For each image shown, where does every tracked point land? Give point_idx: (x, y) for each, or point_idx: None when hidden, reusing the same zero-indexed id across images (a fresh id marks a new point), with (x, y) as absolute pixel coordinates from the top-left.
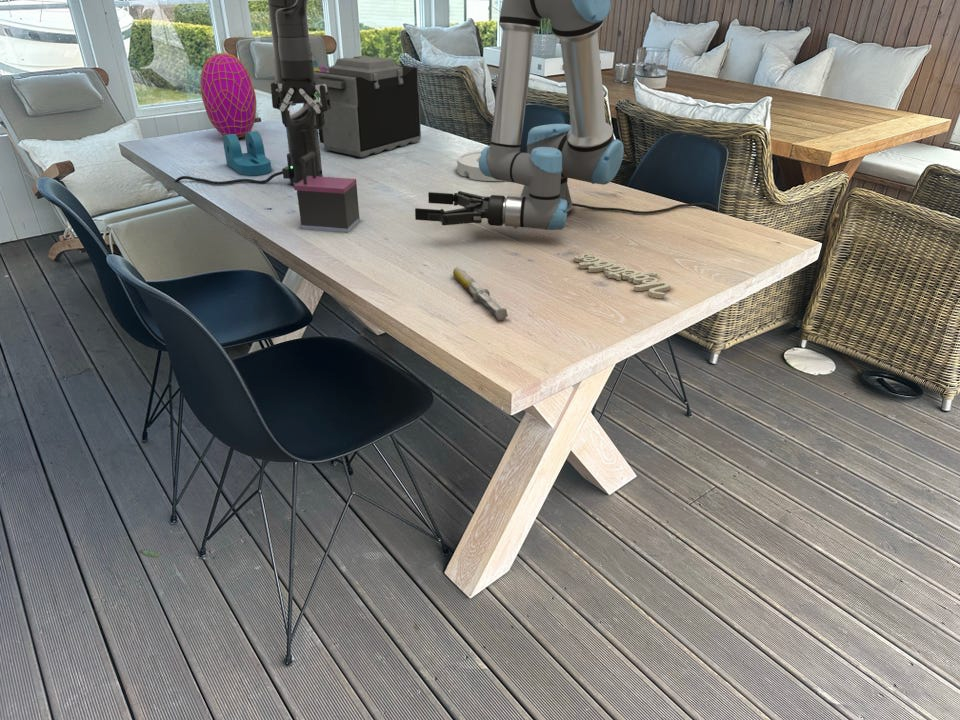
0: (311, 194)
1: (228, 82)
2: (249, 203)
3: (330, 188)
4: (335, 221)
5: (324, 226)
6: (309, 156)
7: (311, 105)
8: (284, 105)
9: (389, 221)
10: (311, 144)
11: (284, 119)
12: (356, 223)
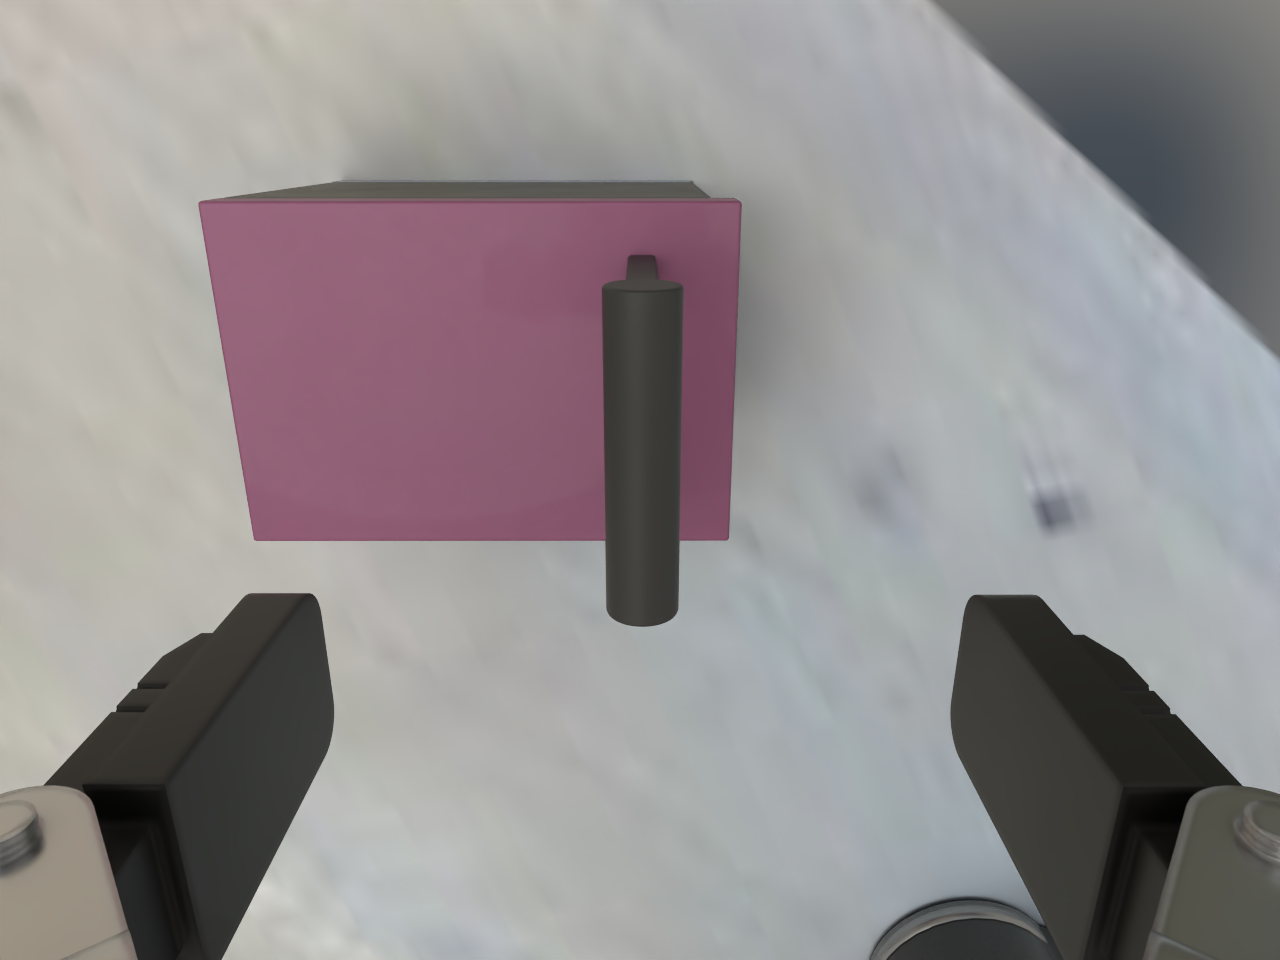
0: (563, 196)
1: None
2: (1224, 587)
3: (342, 200)
4: (407, 184)
5: (508, 182)
6: (607, 457)
7: (88, 949)
8: (1246, 937)
9: (176, 455)
10: None
11: (1086, 669)
12: None
